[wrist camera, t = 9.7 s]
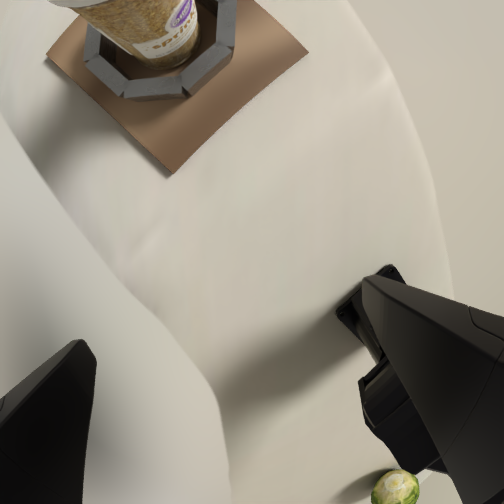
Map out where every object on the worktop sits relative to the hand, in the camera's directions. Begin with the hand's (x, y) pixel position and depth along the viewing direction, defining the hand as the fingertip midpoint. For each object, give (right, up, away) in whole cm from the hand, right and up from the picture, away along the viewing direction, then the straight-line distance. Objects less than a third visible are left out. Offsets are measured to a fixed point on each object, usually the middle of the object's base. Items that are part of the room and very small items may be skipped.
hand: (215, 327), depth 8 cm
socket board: (-4, +16, +7) cm, 18 cm away
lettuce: (+31, -47, +38) cm, 68 cm away
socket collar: (-4, +16, +7) cm, 18 cm away
